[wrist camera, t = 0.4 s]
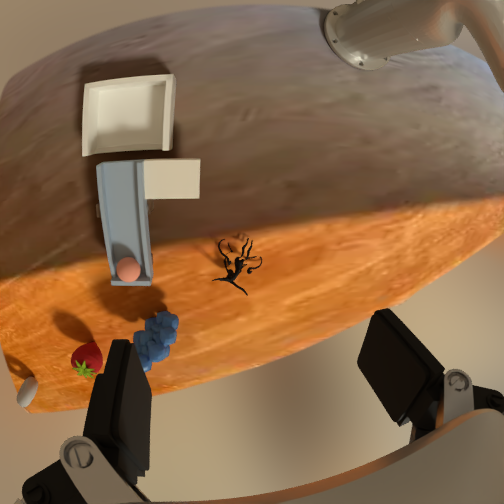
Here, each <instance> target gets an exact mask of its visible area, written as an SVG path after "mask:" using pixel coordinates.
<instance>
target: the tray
mask: <svg viewBox="0 0 504 504" xmlns="http://www.w3.org/2000/svg"><path fill="white" fill-rule="evenodd" d="M175 91H176V79H175V77H174V75H173V74H166V75H149V76H137V77H127V78H119V79H111V80H104V81H98V82H92V83H87V84H85V88H84V101H83V121H82V157H83V156H89V155H93V154H97V153H107V152H119V151H134V150H154V149H163V151H169V150H171V149H172V148H173V123H174V105H175Z"/></svg>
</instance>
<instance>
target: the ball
mask: <svg viewBox="0 0 504 504" xmlns="http://www.w3.org/2000/svg"><path fill="white" fill-rule="evenodd" d="M116 271H117V275H118V277H119V278H120V279H121V280H122V281H124V282H133V281H135V280H136V279H137V278H138V277H139V275H140V271H141V269H140V265H139V263H138V261H137V260H136V259H134V258H132V257H125V258H123V259H121V260H120V261H119V262H118V264H117V268H116Z"/></svg>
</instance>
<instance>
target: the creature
mask: <svg viewBox="0 0 504 504" xmlns="http://www.w3.org/2000/svg"><path fill="white" fill-rule="evenodd" d="M248 239H249V238H248ZM248 239H247V243H248ZM223 240H225V239H223ZM221 241H222V240H221ZM221 241H220V242H221ZM220 242H219V245H218V248H219V251H220V253H221V254H222V255H223V256H224V257H225V260H224V264H225V267H226V270H227V273H228V275H227V277H226V278H218V279H214V280H220V281H227V282H230V283H231V284H233V285H234V286H236V287H237V288H239V289H241V290H242V291H243V292H244V293H245V294H246V295H247V296H248V294H247V293H246V291H245V290H244V289H243V288H241V287H239V286H238V285H237V284H236V283H234V282H233V281H234V280H235V279H236V277H237V276H238V274H239V273H240V272H241V269H242V268H243V267H245V266H242V265H247V264H243V262H244V261H245V260H244V259H242V260H239V258H241V257H242V256H243V254H244V249H245V247H246V245H247V243H246V244H245V245H244V246H243V247H242V255H241V257H236V259H235V268H236V269H235V273H234V272H233V271H232V270H231V269H230V270H228V269H227V266H226V258H227V262H228V265H230V264H231V261H229V258H228V257H227V256H226V255H227V254H228V253H227V254H226V255H225V254H223V253H222V251H221V249H220V247H219V246H220ZM252 242H253V240H252ZM252 242H251V246H250V248H249V249H248V251H247V258H246V260H247V259H249V258H248V257H249V253H250V250H251V248H252ZM228 246H229V243H228ZM229 248H230V246H229ZM230 250H231V248H230ZM231 252H233V251H232V250H231ZM255 257H257V256H255ZM255 257H252V258H255ZM258 257H259V256H258ZM260 258H261V257H260ZM261 264H262V258H261ZM261 264H260V265H259V266H257V267H255V268H252V267H249V268H248V270H247V273H248V274H251V272H252V271H250V270H251V269H257V268H259V267H260V266H261ZM241 266H242V267H241ZM239 271H240V272H239ZM214 280H212V281H214Z"/></svg>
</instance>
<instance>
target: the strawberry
mask: <svg viewBox="0 0 504 504" xmlns="http://www.w3.org/2000/svg"><path fill="white" fill-rule="evenodd" d="M71 364H72V366H73V368H72V369H74V370H76V371H77V372H79V373H78V375H79V376H81V374H83V375H84V376H85V377H86V378H87V376H89V377H91V378H93V377H92V375H93V374H97V372H99V370H100V369H101V367H102V365H103V357H102V353H101V351H100V349H99V347H98V346H97V344H96V343H95V342H91V343H87V344H84V345H82V346H80V347H78V348H77V349H76V350H75V351H74V353H73V354H72V357H71ZM86 375H87V376H86Z"/></svg>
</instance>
